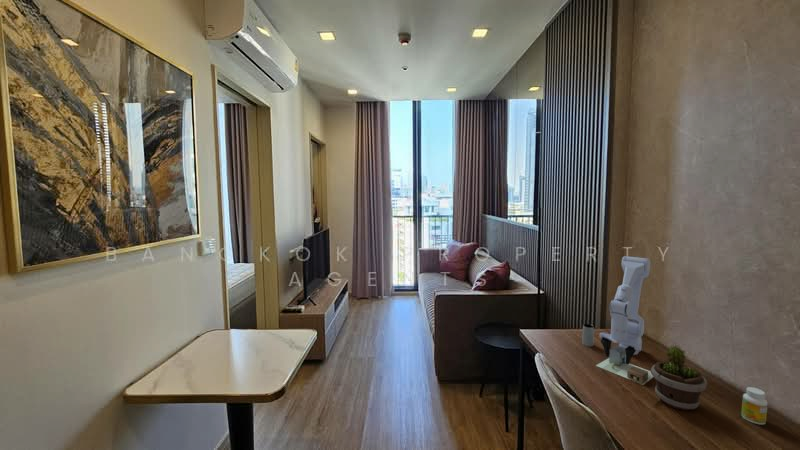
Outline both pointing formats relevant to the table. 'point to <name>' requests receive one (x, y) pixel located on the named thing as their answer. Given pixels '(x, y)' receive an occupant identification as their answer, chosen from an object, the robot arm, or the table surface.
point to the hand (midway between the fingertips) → (617, 359)
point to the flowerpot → (678, 381)
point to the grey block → (617, 355)
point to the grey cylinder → (588, 335)
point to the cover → (638, 374)
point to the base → (622, 369)
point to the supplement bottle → (754, 406)
